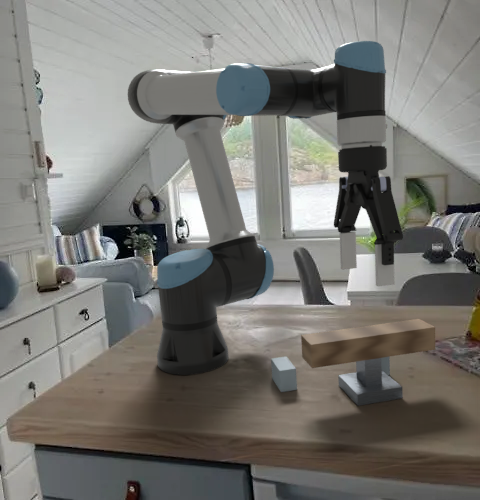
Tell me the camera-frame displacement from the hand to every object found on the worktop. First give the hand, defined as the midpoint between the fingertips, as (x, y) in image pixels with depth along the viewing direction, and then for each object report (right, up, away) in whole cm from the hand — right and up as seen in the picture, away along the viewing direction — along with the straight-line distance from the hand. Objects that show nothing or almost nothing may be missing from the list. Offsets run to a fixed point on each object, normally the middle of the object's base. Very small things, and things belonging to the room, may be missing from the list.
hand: (365, 276), depth 82 cm
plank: (+1, -13, +2) cm, 14 cm away
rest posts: (-4, -19, +10) cm, 22 cm away
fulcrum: (+1, -20, +3) cm, 21 cm away
